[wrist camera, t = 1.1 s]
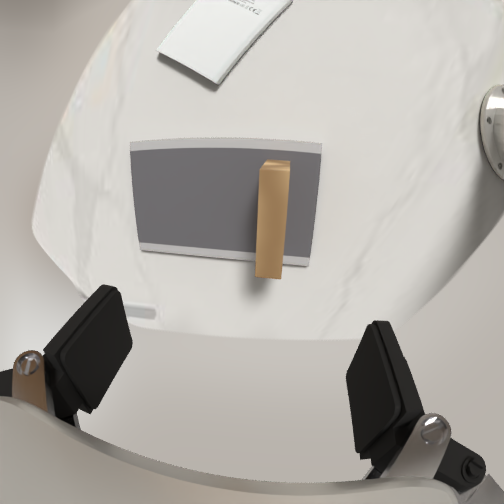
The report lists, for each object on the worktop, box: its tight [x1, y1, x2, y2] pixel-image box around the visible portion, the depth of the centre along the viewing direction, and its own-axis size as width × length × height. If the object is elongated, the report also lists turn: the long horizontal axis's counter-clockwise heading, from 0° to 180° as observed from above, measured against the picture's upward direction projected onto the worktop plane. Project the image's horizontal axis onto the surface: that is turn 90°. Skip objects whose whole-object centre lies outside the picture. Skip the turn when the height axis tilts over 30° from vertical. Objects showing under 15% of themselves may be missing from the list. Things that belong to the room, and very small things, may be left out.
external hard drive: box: [156, 0, 293, 85], centre depth 19 cm, size 2×8×12 cm
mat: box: [130, 138, 322, 266], centre depth 28 cm, size 20×13×1 cm, turn 88°
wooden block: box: [255, 159, 290, 279], centre depth 24 cm, size 2×9×6 cm, turn 178°
